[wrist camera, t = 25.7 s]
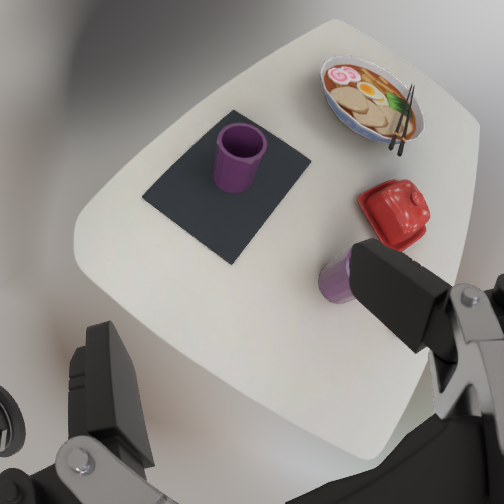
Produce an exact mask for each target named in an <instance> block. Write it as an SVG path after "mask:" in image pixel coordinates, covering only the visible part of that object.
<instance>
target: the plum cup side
mask: <svg viewBox="0 0 504 504" xmlns="http://www.w3.org/2000/svg"><path fill="white" fill-rule="evenodd" d="M351 249H352V247H351V248H350V249H348V250H347V251H345V252H344V253H343V254H341V255H340V256H338V257H337V258H335V259H334V260H332V261H331V262H329V263H328V264H327V265H325V266H324V267H323V268H322V270H321V272H320V274H319V288H320V290H321V292H322V294H323V295H324V297H325V298H326V299H328V300H329V301H331V302H333V303H337V304H342V303H346V302H349V301H352V300H354V299H356V298H355V297H354V296H353V294H352V292H351V290H350V287H349V273H350V259H351Z"/></svg>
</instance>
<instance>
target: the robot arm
mask: <svg viewBox="0 0 504 504" xmlns="http://www.w3.org/2000/svg"><path fill="white" fill-rule="evenodd" d="M349 287H350V290H351V292H352V294H353V296H354V297H355V298H356V299H357V300H358V301H359V302H360V303H361V304H362V305H364V306H365V307H366V308H367V309H368V310H369V311H370V312H371V313H372V314H373V315H374V316H376V317H377V318H378V319H379V320H380V321H381V322H382V323H383V324H384V325H385V326H386V327H387V328H389V329H390V330H391V331H392V332H393V333H394V334H395V335H396V336H397V337H398V338H399V339H400V340H401V341H402V342H404V343H405V344H406V345H407V346H408V347H409V348H410V349H411V350H412V351H413V352H414V353H415V354H416V353H418V352H419V351H421V350H422V349H424V348H425V347H428V348H430V351H429V353H428V360H429V366H430V373H431V381H432V390H433V398H434V402H433V408H432V412H431V416H430V417H429V418H428V419H427V420H426V421H424V422H423V423H422V424H420V425H419V426H418V427H416V428H415V429H414V430H413V431H411V432H410V433H408V434H407V435H406V436H405V437H404V438H403V439H402V441H401V442H400V443H399V444H398V445H397V446H396V447H395V449H394V450H393V451H392V452H391V453H390V454H389V455H388V456H387V457H386V459H385V460H384V461H383V462H382V463H381V464H380V465H379V466H377V467H376V468H374V469H372V470H368V471H365V472H362V473H359V474H356V475H353V476H349V477H346V478H343V479H339V480H335V481H332V482H328V483H326V484H324V485H322V486H320V487H319V488H316V489H314V490H312V491H310V492H308V493H306V494H303V495H301V496H299V497H297V498H295V499H292V500H290V501H288V502H286V503H285V504H504V274H501V275H500V276H498V278H497V281H496V284H495V286H494V289H490V290H486V291H482V290H481V289H480V288H478V287H476V286H474V285H470V284H457V285H455V286H453V287H452V286H451V285H449V284H448V283H447V282H445V281H444V280H442V279H441V278H439V277H438V276H436V275H435V274H434V273H432V272H431V271H429V270H428V269H426V268H425V267H423V266H422V267H421V265H420V264H419V263H417V262H416V261H412V259H411V258H410V257H408V256H407V255H405V254H404V253H402V252H400V251H397V250H394V249H391V248H389V247H387V246H386V245H384V244H383V243H381V242H380V241H378V240H376V239H374V238H371V239H368V240H365V241H362V242H359V243H356V244H354V245H353V246H352V249H351V259H350V273H349ZM69 377H70V380H69V391H70V392H69V394H68V432H69V433H68V434H69V437H68V440H67V441H66V442H65V443H64V444H63V445H62V446H61V447H60V449H59V451H58V453H57V456H56V461H55V463H54V464H53V465H51V466H49V467H47V468H45V469H43V470H41V471H39V472H37V473H35V474H33V475H30V476H29V475H27V474H26V473H24V472H23V471H22V470H19V469H16V468H9V469H6V470H4V471H3V472H2V473H1V474H0V504H178V503H177V502H175V501H174V500H172V499H171V498H169V497H168V496H166V495H165V494H163V493H162V492H160V491H159V490H158V489H156V488H155V487H154V486H152V485H151V484H149V483H148V482H147V479H146V475H145V471H144V468H149V467H154V466H155V464H154V460H153V456H152V452H151V448H150V444H149V439H148V435H147V431H146V426H145V421H144V417H143V411H142V406H141V401H140V395H139V390H138V384H137V378H136V372H135V369H134V365H133V363H132V360H131V358H130V356H129V354H128V352H127V350H126V348H125V346H124V344H123V342H122V340H121V338H120V336H119V335H118V333H117V330H116V329H115V326H114V325H113V323H112V322H111V321H107V322H104V323H100V324H96V325H93V326H89V327H87V330H86V346H83V347H79V348H77V349H76V351H75V353H74V355H73V357H72V359H71V361H70V370H69ZM12 440H13V425H12V421H11V418H10V415H9V413H8V411H7V409H6V408H5V406H4V404H3V403H2V402H1V401H0V452H1V451H3V450H5V449H6V448H8V447H9V446H10V444H11V442H12Z"/></svg>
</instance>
